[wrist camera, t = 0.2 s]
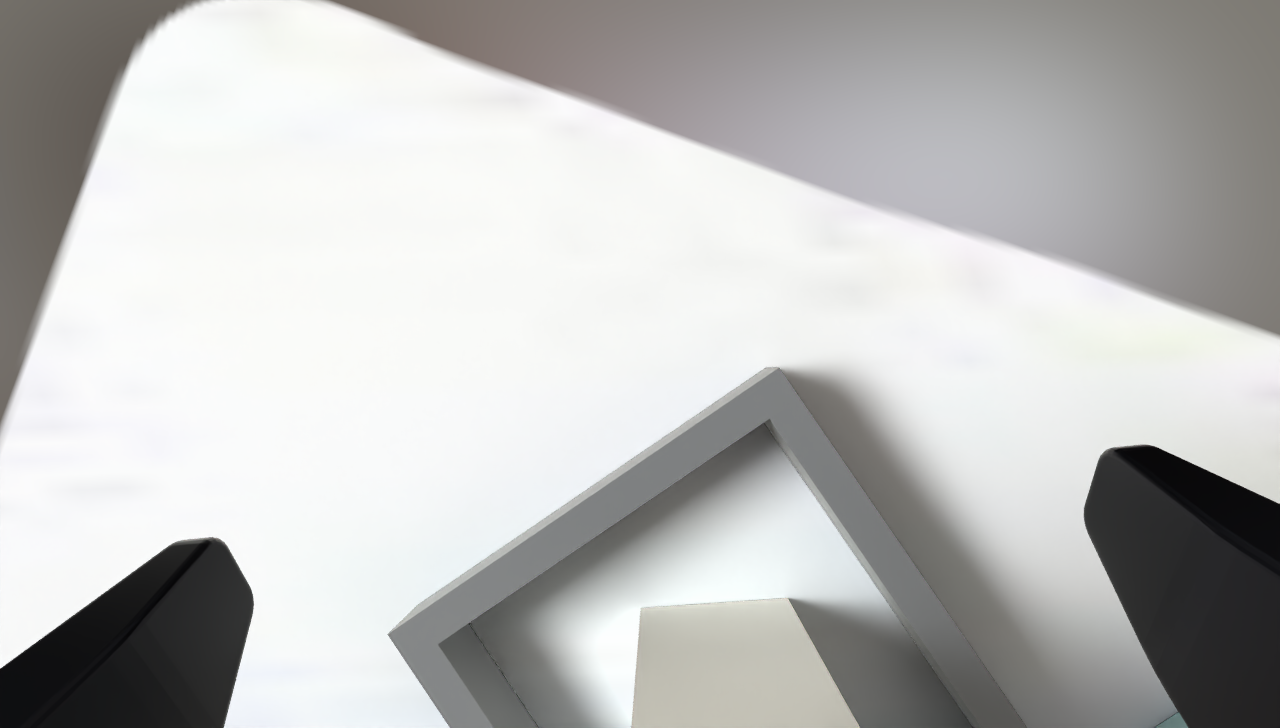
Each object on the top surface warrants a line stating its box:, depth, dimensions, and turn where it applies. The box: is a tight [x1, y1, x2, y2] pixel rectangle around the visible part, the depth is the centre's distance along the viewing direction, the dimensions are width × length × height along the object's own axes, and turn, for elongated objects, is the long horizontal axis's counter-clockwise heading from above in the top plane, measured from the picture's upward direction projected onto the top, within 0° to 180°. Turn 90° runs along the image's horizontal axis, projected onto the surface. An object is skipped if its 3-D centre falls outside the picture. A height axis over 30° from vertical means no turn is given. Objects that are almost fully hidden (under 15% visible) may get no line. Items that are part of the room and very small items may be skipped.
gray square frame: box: [388, 368, 1027, 728], centre depth 21 cm, size 14×13×2 cm
